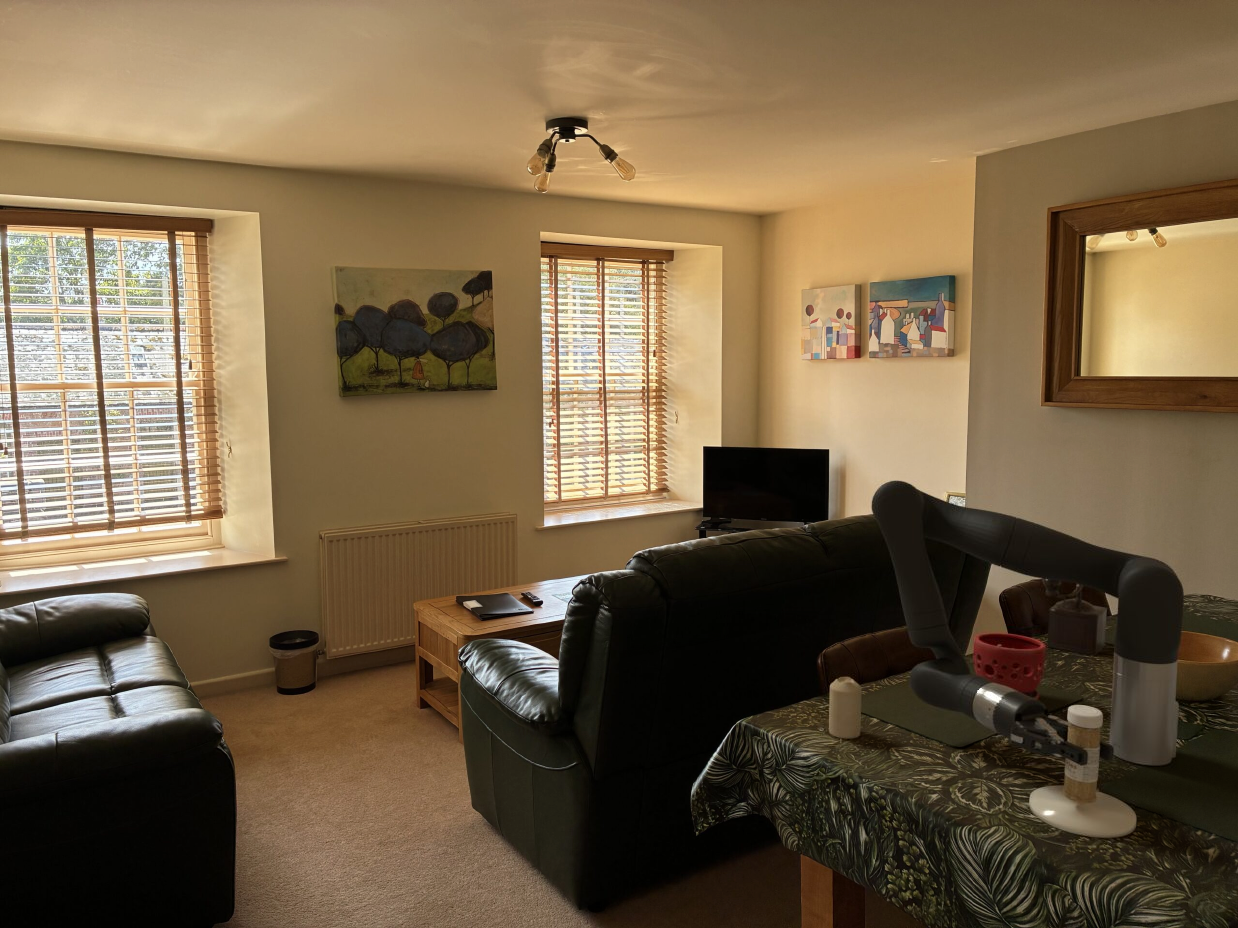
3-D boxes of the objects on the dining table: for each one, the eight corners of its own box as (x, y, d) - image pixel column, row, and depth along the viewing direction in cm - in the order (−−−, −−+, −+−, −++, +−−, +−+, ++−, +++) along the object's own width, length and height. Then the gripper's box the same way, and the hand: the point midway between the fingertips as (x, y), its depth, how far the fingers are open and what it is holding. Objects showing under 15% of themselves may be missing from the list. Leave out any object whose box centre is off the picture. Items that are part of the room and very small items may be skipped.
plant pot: (1052, 712, 174) (1055, 651, 173) (980, 708, 176) (982, 648, 175) (1032, 688, 187) (1035, 631, 185) (965, 685, 189) (967, 629, 187)
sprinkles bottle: (1056, 790, 136) (1061, 704, 135) (1085, 789, 137) (1090, 703, 135) (1074, 805, 132) (1080, 716, 130) (1104, 804, 132) (1110, 715, 131)
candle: (861, 740, 161) (862, 685, 160) (829, 737, 162) (830, 683, 161) (859, 728, 167) (860, 674, 166) (828, 725, 168) (829, 673, 167)
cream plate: (1078, 785, 143) (1078, 779, 143) (1159, 826, 130) (1159, 820, 130) (1008, 800, 138) (1008, 794, 138) (1084, 845, 125) (1084, 838, 125)
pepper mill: (1056, 637, 223) (1059, 564, 221) (1106, 645, 215) (1110, 570, 213) (1036, 652, 211) (1039, 575, 209) (1088, 661, 204) (1092, 582, 202)
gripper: (975, 695, 144) (1062, 738, 128) (1045, 685, 149) (1137, 724, 133) (972, 741, 145) (1059, 789, 129) (1042, 729, 150) (1134, 773, 134)
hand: (1098, 756), depth 131 cm, fingers closed on sprinkles bottle, 4 cm apart
